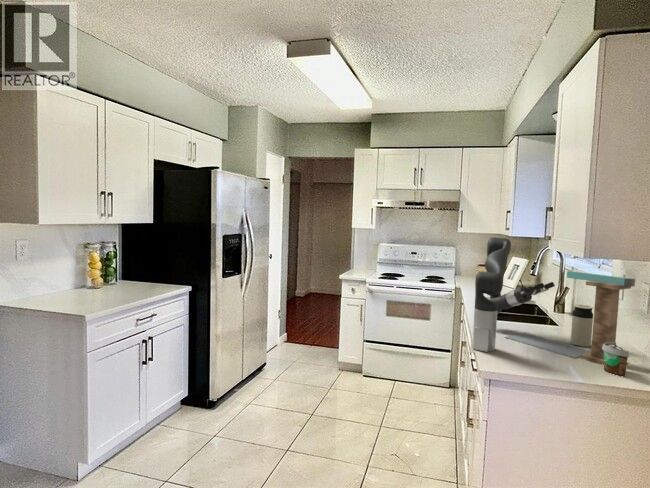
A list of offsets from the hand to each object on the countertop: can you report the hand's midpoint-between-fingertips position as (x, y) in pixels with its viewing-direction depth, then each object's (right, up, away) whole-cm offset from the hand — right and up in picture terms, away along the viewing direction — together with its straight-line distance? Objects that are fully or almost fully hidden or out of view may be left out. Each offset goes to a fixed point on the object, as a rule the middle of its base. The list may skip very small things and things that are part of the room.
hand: (548, 284), depth 184 cm
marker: (+11, +3, -18) cm, 21 cm away
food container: (+6, -30, -31) cm, 43 cm away
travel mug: (+16, -28, +3) cm, 33 cm away
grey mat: (0, -28, 0) cm, 28 cm away
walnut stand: (+12, -29, -19) cm, 37 cm away
